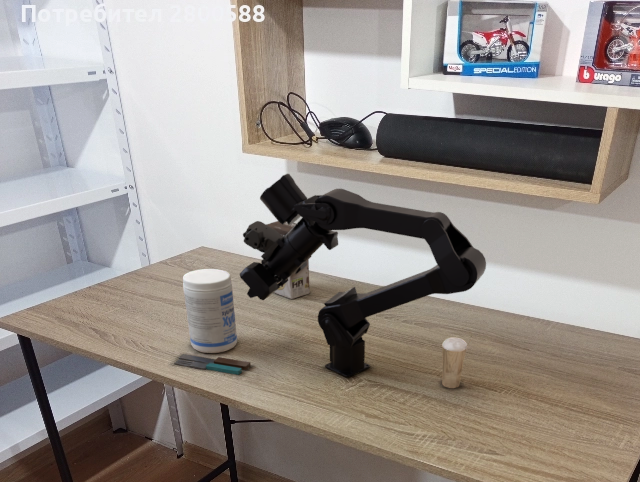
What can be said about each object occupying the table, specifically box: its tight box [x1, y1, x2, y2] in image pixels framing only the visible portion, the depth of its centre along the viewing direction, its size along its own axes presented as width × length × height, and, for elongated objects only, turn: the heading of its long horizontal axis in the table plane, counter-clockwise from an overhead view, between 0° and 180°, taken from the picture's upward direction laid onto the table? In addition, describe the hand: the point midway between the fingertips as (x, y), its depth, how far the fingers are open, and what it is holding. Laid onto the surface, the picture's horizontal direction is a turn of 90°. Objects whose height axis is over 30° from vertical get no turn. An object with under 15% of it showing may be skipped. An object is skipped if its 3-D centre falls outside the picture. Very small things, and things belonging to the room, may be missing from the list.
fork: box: [173, 358, 243, 376], centre depth 133 cm, size 14×2×1 cm, turn 71°
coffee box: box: [265, 220, 311, 300], centre depth 164 cm, size 9×6×16 cm
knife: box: [178, 353, 252, 371], centre depth 135 cm, size 15×2×1 cm, turn 71°
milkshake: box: [441, 336, 472, 389], centre depth 126 cm, size 4×5×10 cm
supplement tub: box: [182, 268, 238, 354], centre depth 138 cm, size 10×10×15 cm
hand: (249, 295), depth 133 cm, fingers closed
